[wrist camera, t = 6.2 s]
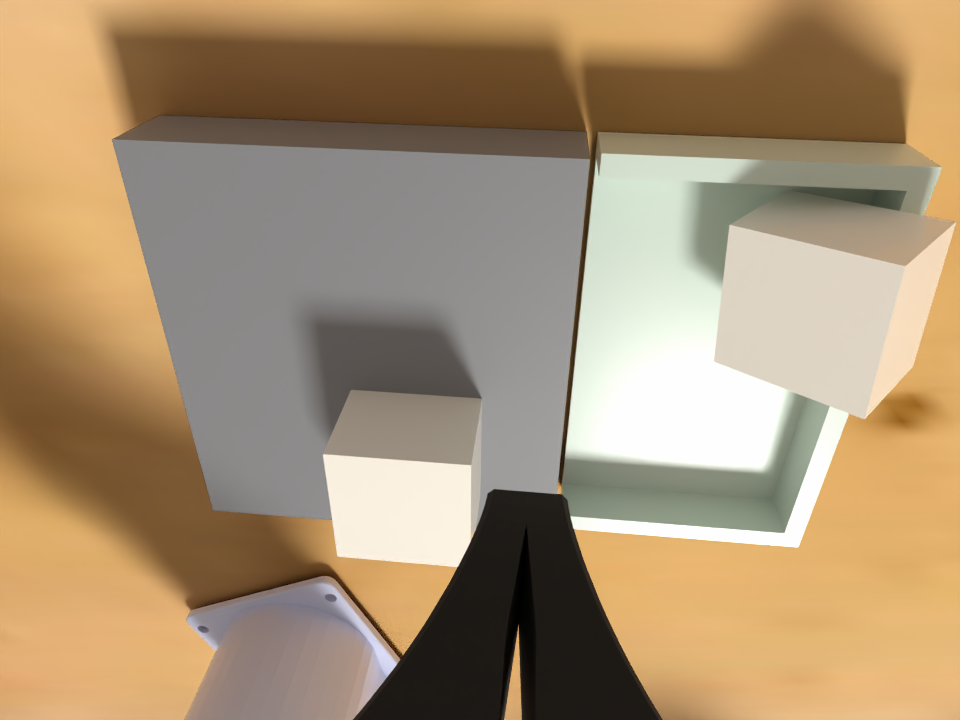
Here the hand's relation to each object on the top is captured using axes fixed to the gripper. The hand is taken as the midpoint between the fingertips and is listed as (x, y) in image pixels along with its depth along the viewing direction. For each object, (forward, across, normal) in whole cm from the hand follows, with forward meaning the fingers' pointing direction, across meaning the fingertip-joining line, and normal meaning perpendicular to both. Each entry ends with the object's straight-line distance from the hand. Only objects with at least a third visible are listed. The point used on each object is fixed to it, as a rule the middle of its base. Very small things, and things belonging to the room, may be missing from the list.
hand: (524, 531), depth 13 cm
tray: (+10, -5, +2) cm, 12 cm away
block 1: (+6, +3, +5) cm, 9 cm away
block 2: (+7, -7, -1) cm, 10 cm away
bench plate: (+10, +5, +2) cm, 12 cm away
